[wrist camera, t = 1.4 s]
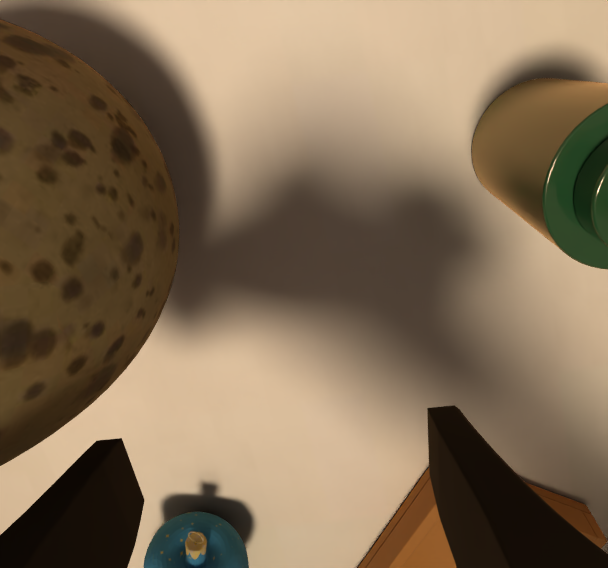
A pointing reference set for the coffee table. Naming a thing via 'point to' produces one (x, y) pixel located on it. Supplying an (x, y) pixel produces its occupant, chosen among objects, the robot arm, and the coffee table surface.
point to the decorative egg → (73, 237)
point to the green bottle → (551, 161)
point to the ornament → (196, 544)
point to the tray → (431, 537)
